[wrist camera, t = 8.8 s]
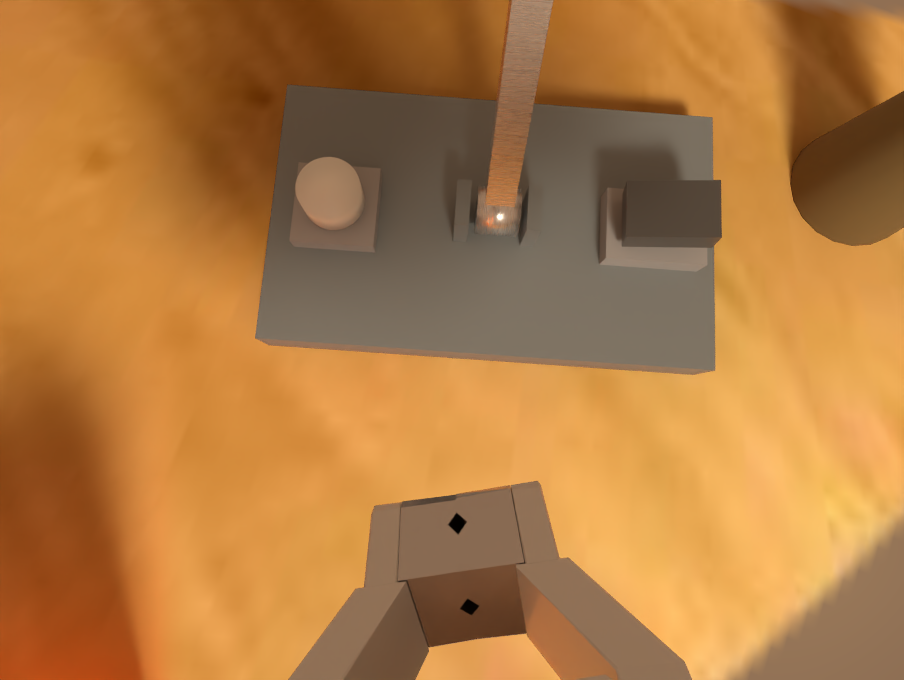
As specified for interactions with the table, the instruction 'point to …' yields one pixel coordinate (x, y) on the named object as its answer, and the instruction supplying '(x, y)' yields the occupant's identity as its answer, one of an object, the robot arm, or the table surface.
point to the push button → (330, 193)
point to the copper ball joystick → (512, 117)
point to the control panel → (486, 237)
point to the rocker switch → (671, 213)
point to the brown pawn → (855, 177)
